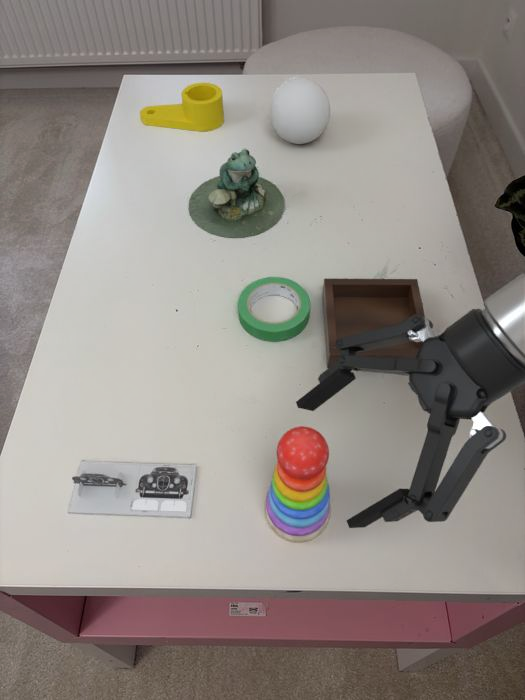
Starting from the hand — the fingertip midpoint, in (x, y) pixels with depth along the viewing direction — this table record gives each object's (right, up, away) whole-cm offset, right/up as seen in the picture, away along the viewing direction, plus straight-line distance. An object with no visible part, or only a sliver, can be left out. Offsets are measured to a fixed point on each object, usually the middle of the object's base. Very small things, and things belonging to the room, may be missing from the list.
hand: (327, 461), depth 54 cm
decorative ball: (+1, +56, +54) cm, 78 cm away
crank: (-24, +62, +59) cm, 88 cm away
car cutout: (-23, -6, +11) cm, 26 cm away
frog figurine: (-12, +39, +42) cm, 59 cm away
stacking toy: (-3, -8, +9) cm, 13 cm away
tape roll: (-5, +17, +27) cm, 33 cm away
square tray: (+10, +15, +25) cm, 31 cm away
